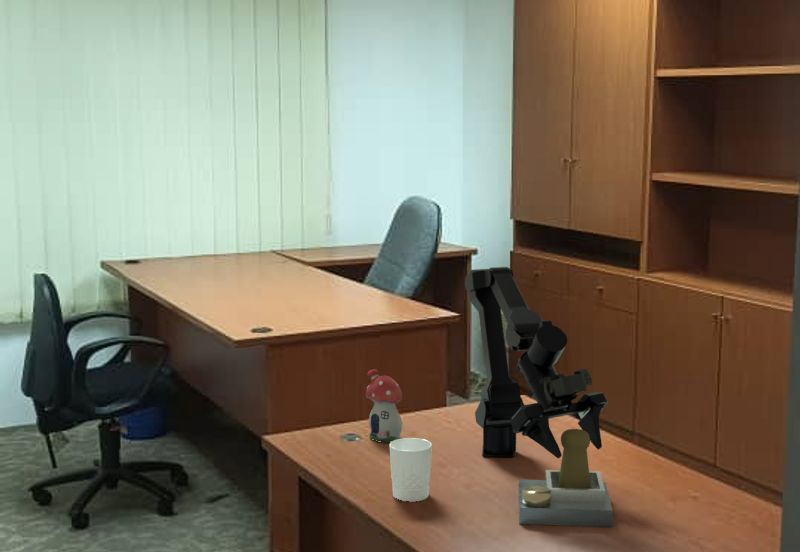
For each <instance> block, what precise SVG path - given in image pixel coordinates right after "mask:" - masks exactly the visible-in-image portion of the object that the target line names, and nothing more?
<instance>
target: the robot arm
mask: <svg viewBox="0 0 800 552" xmlns="http://www.w3.org/2000/svg"><path fill="white" fill-rule="evenodd" d="M464 279H465V280H464V286H465V290H466V292H467V293H468V294H467V295H468V298H469V302H470V303H471V305H473V307H474V308H475V310H476V311H477V312H478V316H479V325H480V333H481V341H482V350H483V359H484V365H485V366H484V367H485V373H486V381H485V383H484V386H483V388H482V390H481V392H480V402H479V403H478V406H477V407H476V410H475V412H474V415H475V423H476V424H477V425H478V426H479V427H480V428H482V430H483V431H482V450H481V451H482V455H481V456H482V457H491V458H492V457H494V458H495V457H496V458H499V457H500V458H514V457H515V454H514V453H515V452H516V451H517V434H520V433H521V435H522V436H523V437H528V438H530V439H531V440H532V441H534V442H535V443H537V444H538V445H540V446H541V447H542V448H543V449H545V450H546V451H548V452H549V453H550V454H551V455H553V456H554V457H555V458H557V459H560V458H562V456H563V453H562V452H561V449H560V446H559V444H558V443H557V441H556V439H555V436H554V435H553V433H552V430H551V428H550V423H549V422H550V421H549V420H550V419H554V418H559V417H565V416H570V415H574V416H575V418H576V419H578V420H579V421H578V422H577V424H578V426H579V428H581V429H580V430H584V431H586V432H587V433H588V435H589V437H590V443H591V444H592V445H593V446H594V448H596V449H597V450H601V448H602V447H603V444H602V438H601V430H600V429H601V428H600V414H601V413H602V412H603V411H604V410H605V407H606V406H607V405H608V403H609V401H608V399H607V397H606V395H605V394H604V393H603V392H602V391H595V392H590V393H584V394H583V395H582V396H581V398H579V400H578V401H577V402H576V401H575V402H572V401H573V400H576V398H577V397H578V394H579V393H581V392H587V391H588V387H589V386H592V384H593V379H592V376H591V374H590V373H589V371H588V369H587V368H582V369H581V368H580V369H578V370H575V371H574V372H573V374H572V375H571V374H570V375H566V376H565V374H563V373H560V374H558V372H557V370H556V368H555V366H554V365H555V364H556V363H557V362H558V361H559V359H560V357H561V355H562V353H563V352H564V350H565V348H566V346H567V344H568V337H567V334H566V333H565V332H564V331H563V330H562V329H561V328H559V327H558V326H556V325H553V321H552V320H543V318H542V317H541V316H540V315H539V313H537V312H535V311H533V310H531V309H530V308H529V307H528V305H527V303H526V301H525V298H524V297H523V295H522V292H521V291H520V289H519V287H518V284H517V282H516V281H515V279H514V272H513V270H512V267H508V266H495V267H494V266H493V267H489V268H480V269H479V268H477V269H471V270H470V271H469V273H468V274H467V275H466V276H465V278H464ZM502 314H503V315H502ZM503 317H504V318H505V321H506V322H507V325H506V329H505V332H504V323H503ZM506 343H507V346H509V347H510V349H511V351H513V352H522V351H525V352H523V354H522V355H520V357H518V359H517V360H518V361H517V365H516V372H518V373H522V374H523V376H524V378H525V380H526V383H527V385H528V386H529V389H530V391H529V392H528V393H527V394H528V396H529V398H530V399H533V398H535V399H534V400H536V403H535V402H534V403H529V404H525V403H524V400H523V398H522V397H521V387H520V384H519V383H518V382H515V381H514V380H513V379H512V378H511V376H510V370H509V362H508V357H507V356H508V355H507V347H506Z"/></svg>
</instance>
